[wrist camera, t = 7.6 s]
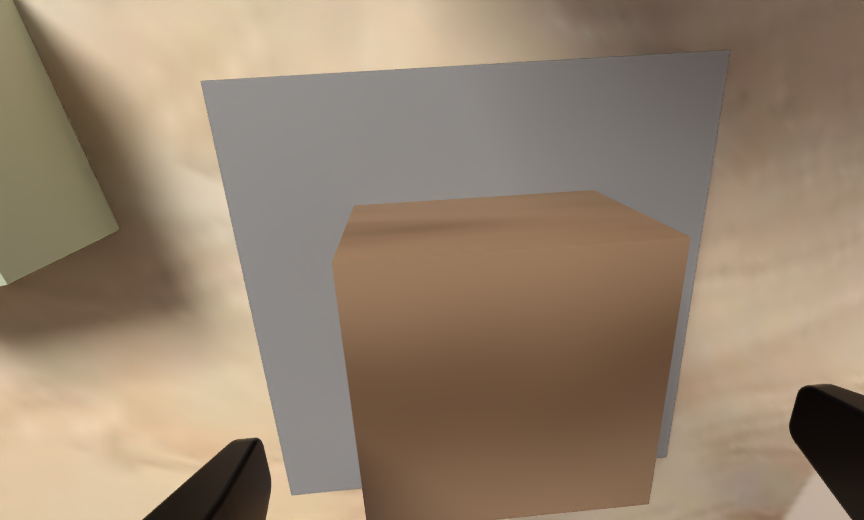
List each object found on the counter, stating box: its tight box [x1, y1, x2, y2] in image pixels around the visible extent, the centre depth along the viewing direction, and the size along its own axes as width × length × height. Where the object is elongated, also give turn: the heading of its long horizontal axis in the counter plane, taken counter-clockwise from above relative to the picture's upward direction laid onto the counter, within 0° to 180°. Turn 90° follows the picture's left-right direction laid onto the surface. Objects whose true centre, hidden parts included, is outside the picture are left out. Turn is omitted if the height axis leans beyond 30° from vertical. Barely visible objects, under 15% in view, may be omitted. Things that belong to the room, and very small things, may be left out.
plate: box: [201, 50, 730, 495], centre depth 13 cm, size 12×12×2 cm
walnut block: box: [332, 190, 691, 520], centre depth 10 cm, size 6×6×4 cm
